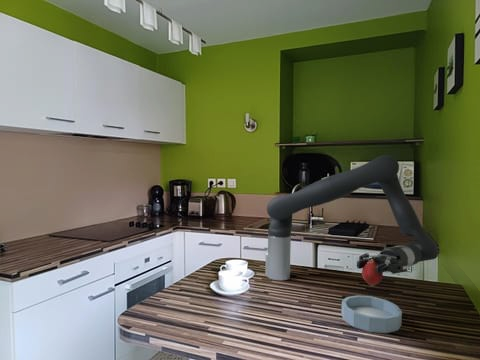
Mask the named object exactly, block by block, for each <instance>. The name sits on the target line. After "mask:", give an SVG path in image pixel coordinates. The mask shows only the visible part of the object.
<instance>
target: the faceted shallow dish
mask: <svg viewBox="0 0 480 360" xmlns="http://www.w3.org/2000/svg"><path fill="white" fill-rule="evenodd" d="M341 317H342V319H343V321H344V322H345V323H347V324H348V325H351V326H352V327H354V328H356V329H360V330H363V331H366V332H370V333H379V334H389V333H393V332H396V331H399V329H400V328H401V326H402V317H403V311H402V310H401V308H400V307H399V306H398V305H397V304H396V303H393V302H392V301H389V300H387V299H384V298H379V297H375V296H373V295H372V296H370V295H358V294H357V295H352V296H351V295H350V296H346V297H345V298H343V299H342V301H341Z"/></svg>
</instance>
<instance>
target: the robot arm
mask: <svg viewBox="0 0 480 360" xmlns="http://www.w3.org/2000/svg"><path fill="white" fill-rule="evenodd" d="M399 170H400V165H399V162H398V160H397V159H396V158H394V157H393V156H390V155H386V154H385V155H379V156H378V157H376V158H374V159H372V160H370V161H368V162H366V163H365V164H362V165H360V166H358V167H354V168H353V169H349V170H344V171H341V172H339V173H335V174H333V175H329V176H327V177H324V178H322V179H319V180H317V181H315V182H313V183H311V184H309V185H306V186H305V187H303V188H301V189H300V190H297V191H295V192H292V193H289V194H284V195H279V196H278V195H277V196H275V197H273V198H271V199H270V200H269V201H268V203H267V205H266V206H267V207H266V211H267V212H266V213H267V214H268V216H269V226H268V230H267V231H268V232H267V233H268V234H267V236H268V237H267V252H266V253H265V271H264V273H265V275H264V276H265V277H267V278H268V279H270V280H274V281H287V280H289V279H291V277H290V276H291V250H292V249H291V247H292V246H291V245H292V244H291V242H292V240H291V239H292V236H291V235H292V227H293V215H294V214H296V213H298V212H300V211H302V210H305V209H308V208H309V209H310V208H312V207H313V208H314V207H316V206H317V207H318V206H321V205H324V204H327V203H330V202H333V201H335V200H338V199H341V198H344V197H346V196H348V195H350V194H351V193H354V192H356V191H357V190H359V189H361V188H364V187H366V186H369V185H372V184H376V183H377V184H378V185H379V186H380V188H381V189H382V191H383V193H384V195H385V197H386V199H387V202H388V204H389V206H390V209H391V211H392V214H393V216H394V218H395V221H396V223H397V225H398V228H399V231H400V233H401V235H403V236H404V237H414V238H415V239H416V241H412V242H411V241H410V242H407V243H405V244H402V245H394V246H390V247H386V248H384V249H382V250H381V251H380V252H379V254H377V255H370V253H363V254H362V255H359V259H358V260H357V261H356V268H357V269H363V267H364V266H365V265H366V264H367V263H369V262H370V260H371V259H372V260H374V261H375V263H377V264H378V265H377V266H376V273H377V274H380V273H391V274H401V273H405V272H408V268H410V267H411V266H414V265H417V264H418V263H420V262H425V261H430V260H435V259H437V258H438V256H439V247H438V245H437V244H436V241H434V240H433V238H432V237H431V236H430V235H429V234H428V232H427V231H426V230H425V228H424V227H423V226H422V224H421V221H420V218H419V217H418V215H417V212H416V211H415V209H414V207H413V205H412V204H411V202H410V200H409V199H408V197H407V195H406V193H405V192H404V190H403V188H402V186H401V183H400V179H399V176H398V174H399Z"/></svg>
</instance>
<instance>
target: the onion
mask: <svg viewBox="0 0 480 360" xmlns="http://www.w3.org/2000/svg"><path fill="white" fill-rule="evenodd" d="M377 265H378V264H377V263H375V261H374V260H372V259H371V260H370V262H367V264H366V265H365V266H364V267H363V268H361V269H362V270H361V276H362V279H363V280H364V281H365V282H366V283H367V284H368V285H369V286H370V287H375V286H376V285H378V284H380V282H382V280H383V278H384V275H383V273H384V272H383V273H380V274H377V273H376V266H377Z"/></svg>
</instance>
